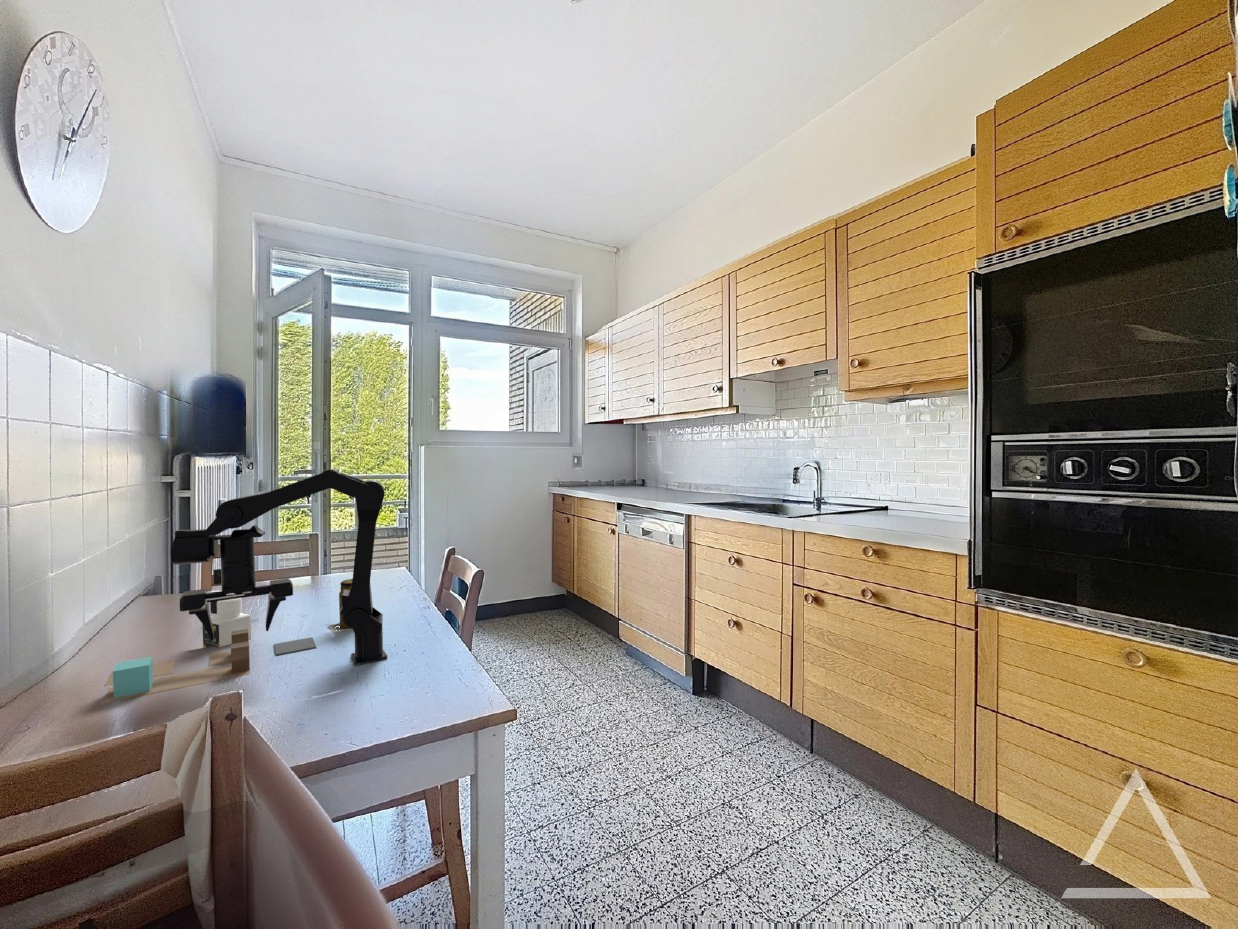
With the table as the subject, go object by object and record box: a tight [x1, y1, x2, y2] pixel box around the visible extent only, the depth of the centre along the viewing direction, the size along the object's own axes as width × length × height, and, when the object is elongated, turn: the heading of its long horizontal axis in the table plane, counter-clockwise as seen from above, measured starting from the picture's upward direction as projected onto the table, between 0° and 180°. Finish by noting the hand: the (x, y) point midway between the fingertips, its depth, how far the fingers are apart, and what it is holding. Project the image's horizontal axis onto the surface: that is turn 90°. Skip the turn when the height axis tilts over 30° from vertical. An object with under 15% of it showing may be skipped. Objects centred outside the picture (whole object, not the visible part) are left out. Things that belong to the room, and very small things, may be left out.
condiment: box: [327, 578, 353, 634], centre depth 143 cm, size 7×8×12 cm
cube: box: [112, 656, 154, 699], centre depth 102 cm, size 5×5×5 cm
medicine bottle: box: [201, 593, 252, 649], centre depth 129 cm, size 7×7×12 cm
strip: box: [100, 640, 251, 705], centre depth 106 cm, size 8×22×6 cm, turn 125°
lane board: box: [104, 660, 176, 687], centre depth 108 cm, size 21×21×2 cm
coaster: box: [273, 636, 317, 657], centre depth 128 cm, size 8×8×1 cm
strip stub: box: [208, 629, 249, 667], centre depth 119 cm, size 8×7×6 cm
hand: (240, 635), depth 112 cm, fingers open, 9 cm apart
